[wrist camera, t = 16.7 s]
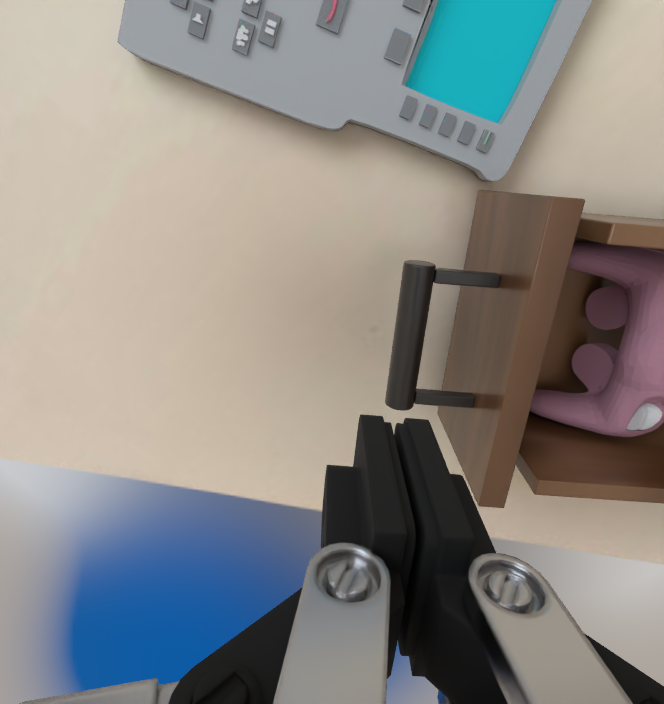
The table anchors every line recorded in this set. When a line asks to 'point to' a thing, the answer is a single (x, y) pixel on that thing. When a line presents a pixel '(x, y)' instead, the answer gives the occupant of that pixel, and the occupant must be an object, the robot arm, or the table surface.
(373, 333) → the table surface
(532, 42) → the office telephone
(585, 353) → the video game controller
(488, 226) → the drawer
